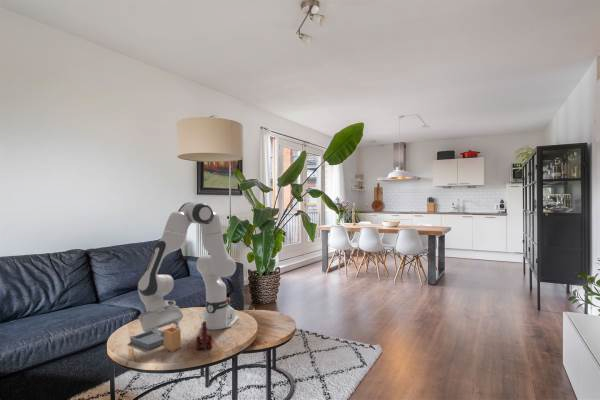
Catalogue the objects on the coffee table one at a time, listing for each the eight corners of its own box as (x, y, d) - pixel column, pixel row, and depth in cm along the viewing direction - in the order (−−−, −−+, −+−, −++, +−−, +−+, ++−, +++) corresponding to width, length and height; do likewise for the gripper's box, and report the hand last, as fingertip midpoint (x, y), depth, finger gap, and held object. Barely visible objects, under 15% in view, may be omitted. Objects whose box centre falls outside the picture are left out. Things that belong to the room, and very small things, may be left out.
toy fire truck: (196, 353, 160) (196, 330, 160) (196, 342, 172) (196, 321, 172) (212, 351, 162) (211, 328, 162) (211, 340, 174) (211, 320, 174)
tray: (130, 342, 172) (130, 337, 172) (155, 333, 183) (155, 328, 183) (148, 349, 163) (148, 344, 163) (173, 340, 175) (173, 335, 175)
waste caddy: (163, 349, 164) (163, 330, 164) (172, 345, 168) (172, 326, 168) (171, 352, 161) (171, 332, 161) (180, 348, 165) (180, 329, 165)
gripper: (139, 310, 161) (152, 336, 155) (177, 300, 178) (189, 323, 172) (134, 318, 163) (146, 344, 158) (172, 307, 180) (184, 330, 175)
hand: (169, 333), depth 165 cm, fingers open, 8 cm apart
